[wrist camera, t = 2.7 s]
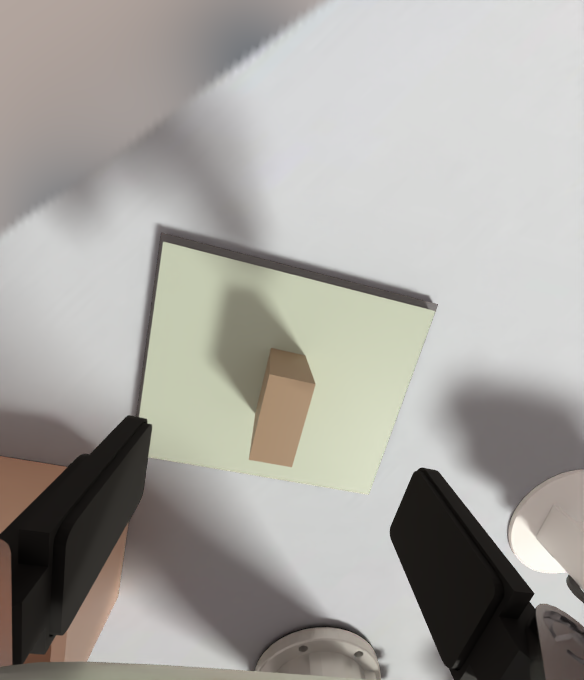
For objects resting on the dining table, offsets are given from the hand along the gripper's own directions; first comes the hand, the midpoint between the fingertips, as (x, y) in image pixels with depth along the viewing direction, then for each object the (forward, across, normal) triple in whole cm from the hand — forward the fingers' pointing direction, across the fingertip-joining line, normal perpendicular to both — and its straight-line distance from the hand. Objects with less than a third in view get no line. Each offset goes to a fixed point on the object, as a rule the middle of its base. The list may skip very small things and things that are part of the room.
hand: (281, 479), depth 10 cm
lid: (+11, 0, +1) cm, 11 cm away
